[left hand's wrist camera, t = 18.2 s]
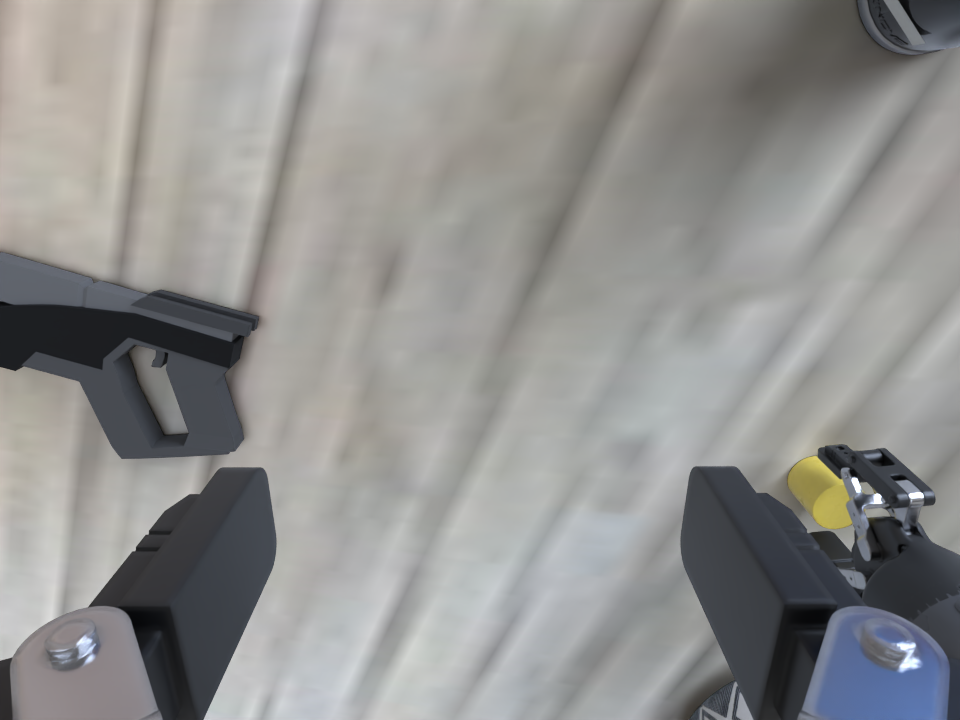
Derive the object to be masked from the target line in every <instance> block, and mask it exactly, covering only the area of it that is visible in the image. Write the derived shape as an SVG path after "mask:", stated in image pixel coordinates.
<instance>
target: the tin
mask: <svg viewBox="0 0 960 720" xmlns="http://www.w3.org/2000/svg"><path fill="white" fill-rule="evenodd" d="M787 483H788V487H789V489H790V491H791V492H792V493H793V495H794V496H795V497H796V498H797V499H798V501H799V502H800V503H801V504H802V505H803V507H804V508H805V509H806V510H807V511H808V513H809V514H810V515H811V516H812V517H813V519H814V520H815V521H816V522H817V523H818V524H819V525H820V526H822V527H825V528H828V529H840V528H844V527H847V526H850V525H851V524H853V523H852V521H851V518H850V515H849V513H848V510H847V508H846V502H847V501H849V495H848V493H847V490H846V488H845V485H844V483H843V480H842V479H839V478H838V477H837V476H836V475H835V474H834V473H833V472H832V471H831V470H830V469H829V468H828V467H827V466H826V465H825V464H824V463H823V462H821V461H820V460H819V459H818V457H817V456H812V457H808V458H805V459H803V460H801V461H799V462H798V463H797V464H796V465H795V466H794V467H793V468H792V469H791V471H790V473H789V475H788V480H787ZM862 491H863V490H862ZM863 493H864V492H863ZM864 494H865V493H864ZM864 512H865V509H864Z"/></svg>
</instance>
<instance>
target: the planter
mask: <svg viewBox="0 0 960 720" xmlns="http://www.w3.org/2000/svg"><path fill="white" fill-rule="evenodd" d="M689 720H753V718H752V716H751V713H750V711H749V709H748V707H747V705H746V702H745V700H744V698H743V696H742V693H741V691H740V689H739V687H738V685H737V682H736V680H734V681H732V682H731V683H729V684H727V685H725V686H724V687H722V688H721V689H719V690H718V691H716V692H715V693H714V694H712V695H711V696H710V697H709V698H708V699H707V700H705V701H704V702H703V703H702V704H701V705H700V706H699V707H698V709H697V710H696V711H695V712H694V713H693V715H692V716H691V718H690V719H689Z"/></svg>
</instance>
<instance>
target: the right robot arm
mask: <svg viewBox="0 0 960 720" xmlns="http://www.w3.org/2000/svg"><path fill="white" fill-rule="evenodd" d="M817 457H818V459H819V460H820V461H821V462H823V463H824V464H825V465H826V466H827V467H828V468H829V469H830V470H831V471H832V472H833V473H834V474H835V475H836V476H837V477H838V478H839V479H842V480H843V483H844V485H845V488H846V490H847V493H848V495H849V501H847V502H846V508H847V510H848V513H849V515H850V518H851V521H852V523H853V526H854V528H855V531H854V533H855V543H854V545H853V547H852V552H850V551H849V549H848V548H847V547H846V546H845V545H844V544H843V543H842V541H841V540H840V539H839V538H838V537H837V536H836V535H835V534H834V533H833V532H831V531H821V532H811V533H810V534H811V535H812V537H813V538H814V539H815V540H816V542H817V543H818V544H819V545H820V550H824V552H825V553H826V554H827V556H828V557H829V558H830V559H831V561H832V562H833V563H834V564H835V566H836V567H837V568H838V569H839V571H840V572H841V573H842V574H843V576H844V577H845V578H846V580H847V581H848V582H849V583H850V585H851V586H852V587H853V588H854V590H855V591H856V592H857V593H858V595H859V596H860V597H861V598H862V600H863V601H864V602H865V603H866V605H867V606H868V607H872V608H877V609H881V610H884V611H887V612H890V613H893V614H895V615H898V616H900V617H902V618H904V619H906V620H908V621H910V622H912V623H913V624H915V625H916V626H918V627H919V628H921V629H922V630H923V631H925V632H926V633H927V634H929V635H930V636H931V637H932V638H933V639H934V640H935V641H936V642H937V643H938V644H939V646H940V647H941V648H942V649H943V651H944V653H945V654H946V656H947V657H950V658H954V659H958V660H960V555H958V554H956V553H954V552H952V551H950V550H947V549H945V548H943V547H941V546H939V545H937V544H935V543H933V542H932V541H931V540H930V539H929V538H928V536H927V535H926V533H925V531H924V530H923V528H922V526H921V525H920V524H919V523H918V522H917V521H918V518H919V514H920V510H921V507H922V506H929V505H933V504H934V503H935V495H934V492H933V491H932V490H931V489H930V488H929V487H928V486H927V485H926V484H925V483H924V482H922V481H921V480H920V479H919V478H918V477H917V476H916V475H915V474H914V473H912V472H911V471H910V470H909V469H908V468H907V467H906V466H905V465H903V464H902V463H901V462H900V461H899V460H898V459H897V458H896V457H895V456H893V455H892V454H891V453H890V452H889V451H888V450H887V449H885V448H880V449H876V450H865V451H852V450H851V449H850V448H849V447H848V446H847V445H843V444H840V445H830V446H825V447H822V448H819V449H818V456H817ZM861 482H867V483H868V484H869V485H870V486H871V487H872V488H873V491H874V493H875V494H872V495H866V494H864V493H863V491H862V489H861V487H860V484H859V483H861ZM873 508H884V509H886V510H887V511H888V512H889V514H890V516H891V517H873V518H867V517H866V514H865V512H864V509H873Z"/></svg>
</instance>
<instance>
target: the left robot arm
mask: <svg viewBox="0 0 960 720" xmlns="http://www.w3.org/2000/svg"><path fill="white" fill-rule="evenodd" d="M857 1H858V8H859V13H860V16H861V19H862V22H863V24H864V26H865V28H866V30H867V31H868V33H869V34H870V35H871V37H872V38H873V39H874V40H875V41H876V42H877V43H879V44H880V45H881V46H883V47H884V48H886V49H888V50H890V51H893V52H896V53H900V54H907V55H915V54H924V53H931V52H936V51H940V50H943V49H947V48H954V47H960V0H857ZM681 554H682V560H683V564H684V567H685V570H686V572H687V574H688V577H689V579H690V581H691V583H692V585H693V588H694V590H695V592H696V594H697V596H698V599H699V601H700V603H701V605H702V608H703V610H704V612H705V614H706V616H707V619H708V621H709V623H710V625H711V627H712V630H713V632H714V634H715V636H716V638H717V641H718V643H719V645H720V647H721V649H722V652H723V654H724V656H725V658H726V660H727V663H728V665H729V667H730V669H731V671H732V674H733V676H734V678H735V680H736V682H737V685H738V687H739V689H740V691H741V693H742V696H743V698H744V700H745V702H746V705H747V707H748V709H749V711H750V713H751V716H752V718H753V720H960V660H958V659H954V658H950V657H947V656H946V654H945V653H944V651H943V649H942V648H941V647H940V646H939V644H938V643H937V642H936V641H935V640H934V639H933V638H932V637H931V636H930V635H929V634H927V633H926V632H925V631H923V630H922V629H921V628H919V627H918V626H916V625H915V624H913V623H912V622H910V621H908V620H906V619H904V618H902V617H900V616H898V615H895V614H893V613H890V612H887V611H884V610H881V609H877V608H872V607H868V606H867V605H866V603H865V602H864V601H863V600H862V598H861V597H860V596H859V595H858V593H857V592H856V591H855V590H854V588H853V587H852V586H851V585H850V583H849V582H848V581H847V580H846V578H845V577H844V576H843V574H842V573H841V572H840V571H839V569H838V568H837V567H836V566H835V564H834V563H833V562H832V561H831V559H830V558H829V557H828V556H827V554H826V553H825V552H824V550H820V545H819V544H818V543H817V542H816V540H815V539H814V538H813V537H812V535H811V534H810V533H807V529H806V528H805V527H804V525H803V524H802V523H801V521H800V520H799V519H798V518H797V516H796V515H795V514H794V513H793V511H792V510H791V509H789V508H788V507H786V506H785V505H783V504H782V503H780V502H779V501H778V500H776V499H775V498H773V497H772V496H770V495H769V494H767V493H756V492H755V491H754V489H753V488H752V486H751V485H750V484H749V482H748V481H747V480H746V478H745V477H744V476H743V474H742V473H741V472H740V470H739V469H738V468H737V467H734V466H696V467H694V468H693V469H692V470H691V472H690V476H689V482H688V489H687V496H686V502H685V509H684V516H683V523H682V530H681ZM275 555H276V532H275V525H274V518H273V511H272V504H271V498H270V491H269V484H268V478H267V474H266V472H265V470H264V469H263V468H220V469H219V470H218V471H217V472H216V473H215V475H214V476H213V477H212V479H211V480H210V481H209V483H208V484H207V485H206V487H205V488H204V489H203V491H202V492H201V493H200V494H189V495H188V496H186V497H185V498H183V499H182V500H181V501H179V502H178V503H176V504H175V505H173V506H172V507H170V508H169V509H167V510H166V511H165V512H164V513H163V514H162V515H161V517H160V518H159V519H158V520H157V522H156V523H155V524H154V525H153V527H152V528H151V529H150V530H149V535H145V537H144V538H143V539H142V540H141V542H140V543H139V544H138V545H137V547H136V551H135V552H132V553H131V554H130V555H129V557H128V558H127V559H126V560H125V562H124V563H123V564H122V565H121V567H120V568H119V569H118V570H117V572H116V573H115V574H114V575H113V577H112V578H111V579H110V580H109V582H108V583H107V584H106V585H105V587H104V588H103V589H102V590H101V592H100V593H99V594H98V595H97V597H96V598H95V599H94V600H93V602H92V603H91V604H90V605H89V607H88V608H83V609H79V610H76V611H73V612H70V613H67V614H65V615H62V616H60V617H58V618H56V619H54V620H52V621H50V622H48V623H47V624H45V625H44V626H42V627H41V628H39V629H38V630H37V631H35V632H34V633H33V634H31V635H30V636H29V637H28V638H27V639H26V640H25V641H24V642H23V643H22V644H21V646H20V647H19V648H18V649H17V651H16V653H15V654H14V656H13V658H9V659H5V660H2V661H0V720H203V719H204V717H205V715H206V713H207V710H208V708H209V706H210V704H211V702H212V700H213V697H214V695H215V693H216V691H217V689H218V686H219V684H220V682H221V680H222V678H223V676H224V673H225V671H226V669H227V667H228V665H229V663H230V660H231V658H232V656H233V654H234V652H235V649H236V647H237V645H238V643H239V641H240V639H241V636H242V634H243V632H244V630H245V628H246V626H247V623H248V621H249V619H250V617H251V615H252V612H253V610H254V608H255V606H256V604H257V602H258V599H259V597H260V595H261V593H262V591H263V588H264V586H265V584H266V582H267V580H268V578H269V575H270V573H271V571H272V568H273V565H274V561H275Z"/></svg>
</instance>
